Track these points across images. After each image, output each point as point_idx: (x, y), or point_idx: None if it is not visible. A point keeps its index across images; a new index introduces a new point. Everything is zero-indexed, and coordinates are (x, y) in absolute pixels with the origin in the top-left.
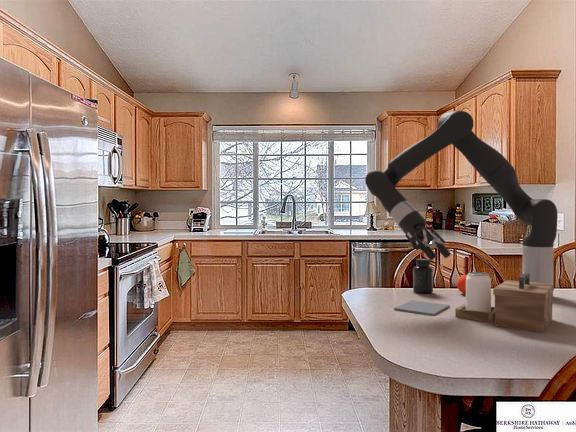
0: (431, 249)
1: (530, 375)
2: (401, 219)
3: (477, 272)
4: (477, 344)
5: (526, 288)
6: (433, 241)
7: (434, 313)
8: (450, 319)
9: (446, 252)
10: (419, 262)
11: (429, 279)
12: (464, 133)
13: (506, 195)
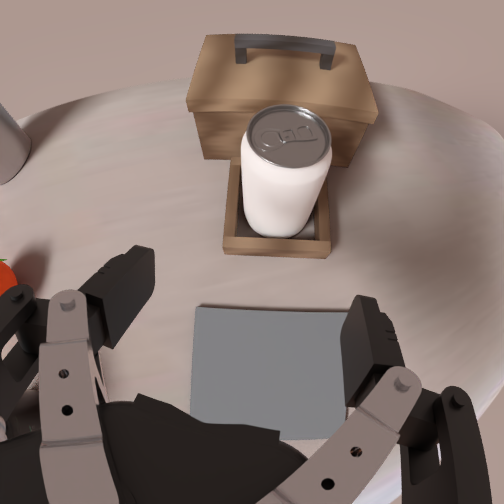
0: (372, 333)
1: (499, 136)
2: None
3: (249, 141)
4: (470, 184)
5: (315, 60)
6: (100, 390)
7: (345, 312)
8: (357, 263)
9: (140, 272)
10: None
11: (21, 402)
12: None
13: None
